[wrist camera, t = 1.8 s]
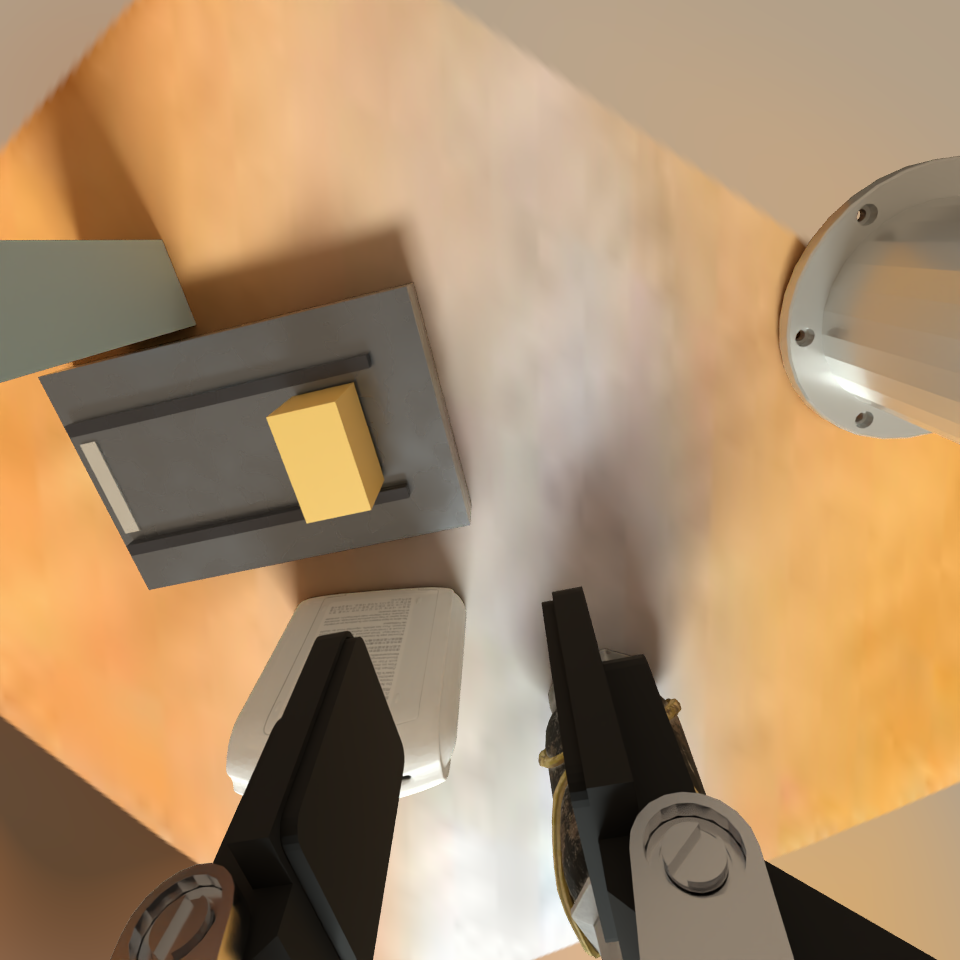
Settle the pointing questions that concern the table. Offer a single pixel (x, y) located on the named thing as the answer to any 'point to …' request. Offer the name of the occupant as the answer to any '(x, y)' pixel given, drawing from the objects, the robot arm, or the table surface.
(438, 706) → the photo printer
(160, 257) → the post
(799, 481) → the table surface
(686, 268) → the table surface
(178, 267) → the table surface
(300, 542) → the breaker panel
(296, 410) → the block
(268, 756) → the robot arm
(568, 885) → the lantern
